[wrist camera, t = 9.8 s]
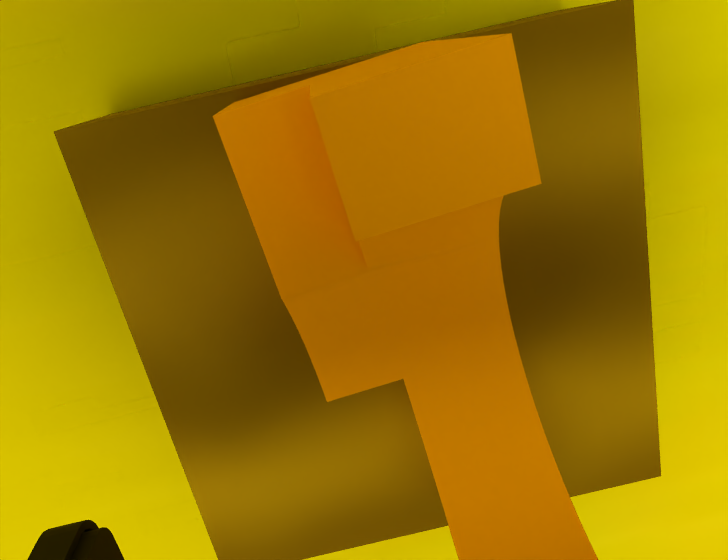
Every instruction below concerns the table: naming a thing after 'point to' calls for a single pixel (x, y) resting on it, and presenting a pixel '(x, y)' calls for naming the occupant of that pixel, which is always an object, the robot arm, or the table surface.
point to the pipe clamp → (414, 266)
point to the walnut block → (391, 401)
